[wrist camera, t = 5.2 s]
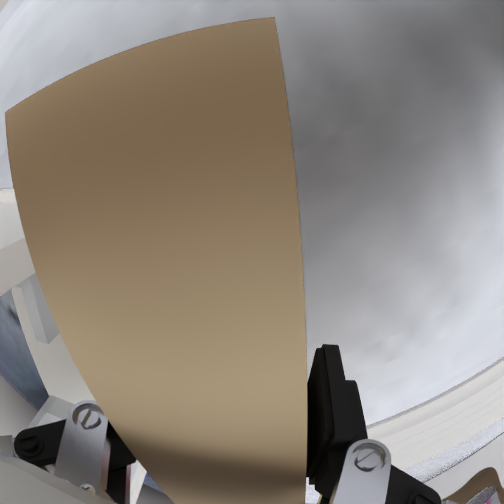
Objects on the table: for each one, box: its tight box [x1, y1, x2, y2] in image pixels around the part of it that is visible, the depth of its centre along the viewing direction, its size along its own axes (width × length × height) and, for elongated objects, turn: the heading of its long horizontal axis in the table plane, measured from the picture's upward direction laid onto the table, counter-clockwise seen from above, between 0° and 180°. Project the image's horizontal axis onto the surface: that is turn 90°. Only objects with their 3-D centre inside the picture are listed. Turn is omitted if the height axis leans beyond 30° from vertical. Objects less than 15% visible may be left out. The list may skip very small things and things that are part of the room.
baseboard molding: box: [366, 357, 504, 470], centre depth 18 cm, size 31×3×12 cm
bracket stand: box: [0, 189, 147, 504], centre depth 15 cm, size 24×10×10 cm, turn 176°
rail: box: [5, 17, 307, 504], centre depth 9 cm, size 18×4×6 cm, turn 7°
